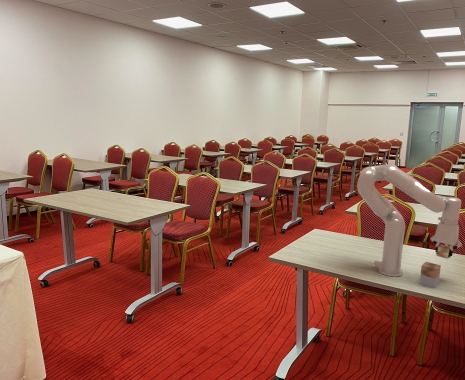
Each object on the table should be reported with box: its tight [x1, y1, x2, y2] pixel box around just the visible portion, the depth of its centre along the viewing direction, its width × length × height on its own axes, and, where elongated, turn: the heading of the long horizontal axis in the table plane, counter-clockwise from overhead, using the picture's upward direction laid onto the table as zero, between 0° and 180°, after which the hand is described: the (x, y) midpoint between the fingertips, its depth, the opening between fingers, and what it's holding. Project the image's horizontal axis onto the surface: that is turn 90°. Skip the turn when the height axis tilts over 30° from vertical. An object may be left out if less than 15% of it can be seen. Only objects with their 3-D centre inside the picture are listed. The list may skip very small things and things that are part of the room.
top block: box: [420, 261, 442, 279], centre depth 197 cm, size 7×7×5 cm
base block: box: [419, 274, 441, 289], centre depth 198 cm, size 7×7×5 cm
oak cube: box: [436, 244, 450, 259], centre depth 202 cm, size 5×5×5 cm
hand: (443, 255), depth 202 cm, fingers closed on oak cube, 5 cm apart
